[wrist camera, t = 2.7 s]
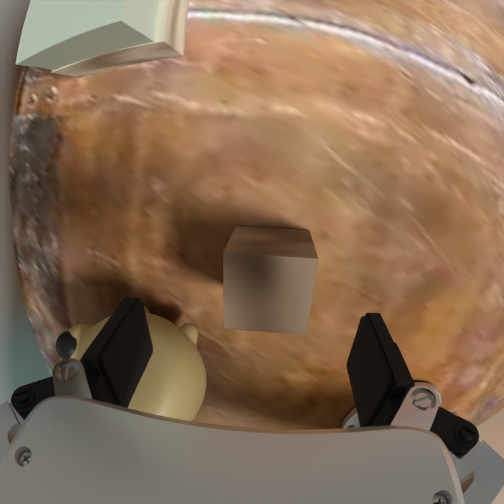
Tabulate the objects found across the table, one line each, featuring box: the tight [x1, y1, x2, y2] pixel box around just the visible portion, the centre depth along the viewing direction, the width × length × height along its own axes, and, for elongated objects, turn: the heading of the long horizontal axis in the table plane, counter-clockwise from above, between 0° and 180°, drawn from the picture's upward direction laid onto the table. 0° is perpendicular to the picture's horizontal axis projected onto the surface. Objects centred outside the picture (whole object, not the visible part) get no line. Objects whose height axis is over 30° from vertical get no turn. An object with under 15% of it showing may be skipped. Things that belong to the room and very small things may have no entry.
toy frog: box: [56, 307, 206, 421], centre depth 19 cm, size 10×12×11 cm
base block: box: [51, 0, 189, 78], centre depth 12 cm, size 9×9×4 cm
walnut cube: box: [223, 225, 318, 334], centre depth 18 cm, size 5×5×5 cm
